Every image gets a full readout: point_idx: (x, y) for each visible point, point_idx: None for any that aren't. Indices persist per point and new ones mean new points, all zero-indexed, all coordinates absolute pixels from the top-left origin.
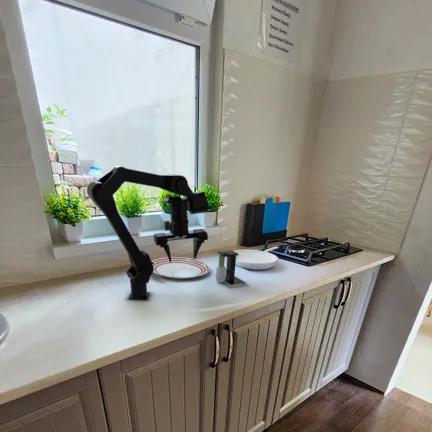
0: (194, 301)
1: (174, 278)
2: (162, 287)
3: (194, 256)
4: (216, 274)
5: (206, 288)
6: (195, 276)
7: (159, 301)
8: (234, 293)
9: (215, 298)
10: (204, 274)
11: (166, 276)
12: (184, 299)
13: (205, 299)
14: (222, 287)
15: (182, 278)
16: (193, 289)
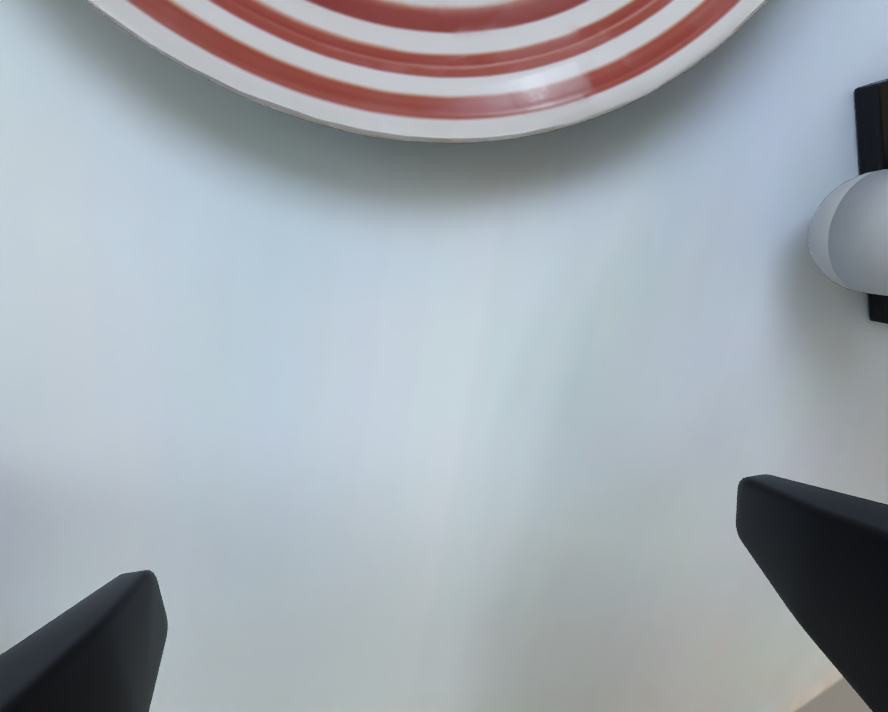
0: (452, 646)
1: (306, 35)
2: (127, 264)
3: (787, 602)
4: (871, 251)
5: (641, 330)
6: (609, 110)
7: None
8: (835, 465)
9: (646, 575)
10: (748, 19)
11: (167, 38)
12: (366, 609)
13: (557, 600)
14: (797, 310)
15: (422, 91)
16: (502, 352)
